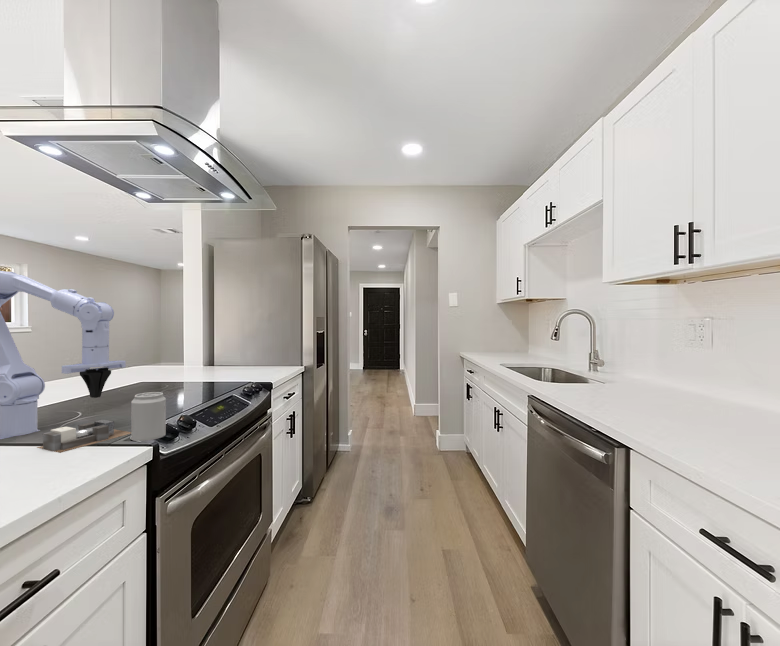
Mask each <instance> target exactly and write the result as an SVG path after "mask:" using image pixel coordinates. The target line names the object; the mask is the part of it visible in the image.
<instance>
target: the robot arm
mask: <svg viewBox="0 0 780 646" xmlns="http://www.w3.org/2000/svg"><path fill="white" fill-rule="evenodd" d="M19 292H20V293H21V292H23V293H25V294H28V295H31V296H34V297H38V298H39V299H43V300H45V301H48V302H50V304H51V307H53V308H54V309H55V310H57V311H61V312H63V313H65V314H68V315H70V316H73V317H75V318H77V320H78V321H79V322H80V325H81V326H80V327H81V334H82V335H81V363H76V364H68V365H67V364H66V365H61V374H63V375H64V374H65V375H66V374H67V375H68V374H72V373H79V375H80V377H81V378H82V380H83V381H84V383H85V385H86V387H87V390H88V393H89V397H90V398H93V399H96V398H101V397H102V393H103V390H104V388H105V384H106V382H107V381H108V378H110V376H111V375H112V370H111V369H118V368H121V369H123V368H126V367H127V365H126V363H127V361H126V360H110V322H111V320H113V318H114V316H115V311H114V309H113V307H112V306H111V305H110V304H108V303H107V302H104V301H99V302H96V301H95V298H94V297H91V296H90V297H89V296H88V297H87V296H85V295H82V294H80V293H78V291H77V290H76V289H73V288H69V289H67V288H65V289H64V288H62V289H59V290H57V289H55V288H52V287H51V286H48V285H46V284H44V283H42V282H39V281H38V280H36V279H33V278H30V277H29V276H26V275H24V274H18V273H17V272H14V271H5V270H0V308H2V306H3V305H4V304H6V303H7V302H8V301H10V300H11V299H12V298H13V297H15V296H16V295H17V294H18V293H19ZM45 388H46V383H45V380H44V379H43V378H42V377H41V375H39V374H38V373H37V371H36V370H35V368H34V367H32V366H30V365H29V364H26V363H25V362H24V361H23V358H22V356H21V354H20V352H19V349H18V347H17V345H16V343H15V340H14V338H13V335H12V333H11V332H10V329H9V327H8V325H7V323H6V321H5V318H4V316H3V314H2V312H1V310H0V440H3V439H7V438H12V437H19V436H24V435H27V434H28V435H29V434H33V433H36V432H39V431H41V430H40V429H38V400H39V399H40V396H41V395H42V393H43V392H44V391H45Z"/></svg>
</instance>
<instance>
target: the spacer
mask: <svg viewBox="0 0 780 646" xmlns="http://www.w3.org/2000/svg"><path fill="white" fill-rule="evenodd" d="M76 431H77V428H76V427H71V426H63V427H57V428H53V429H52V428H51V429H50V432H52V433H57V434H61V443H63V442H67V441H71V440H75V439H76Z"/></svg>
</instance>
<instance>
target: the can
mask: <svg viewBox="0 0 780 646" xmlns="http://www.w3.org/2000/svg"><path fill="white" fill-rule="evenodd" d="M130 404H131V405H130V406H131V407H130V408H131V410H130V412H131V413H130V416H131V417H130V420H131V421H130V427H131V428H130V430H131V431H130V432H131V434H130V437H131V438H130V440H132V441H134V442H146V441H154V440H158V439H161V438H164V437H165V436H166V433H167V431H166V429H167V428H166V427H167V423H166V421H167V398H166V397H165V396H164V393H163V392H160V391H151V392H150V391H149V392H142V393H137V394H135V395H134V398H133V399H132V400H131V403H130Z"/></svg>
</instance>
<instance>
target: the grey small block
mask: <svg viewBox="0 0 780 646" xmlns="http://www.w3.org/2000/svg"><path fill="white" fill-rule="evenodd" d="M93 423H94V427H97V426H102V425H106V426H109V436H110V435H114V429H115V422H114V421H113V420H108V419H100V420H96V421H94V422H93ZM92 428H93V427H91V428H87V429H83V430H78V429H77V430H76V439H79V438H83V437H87V436H91V435H92Z"/></svg>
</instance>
